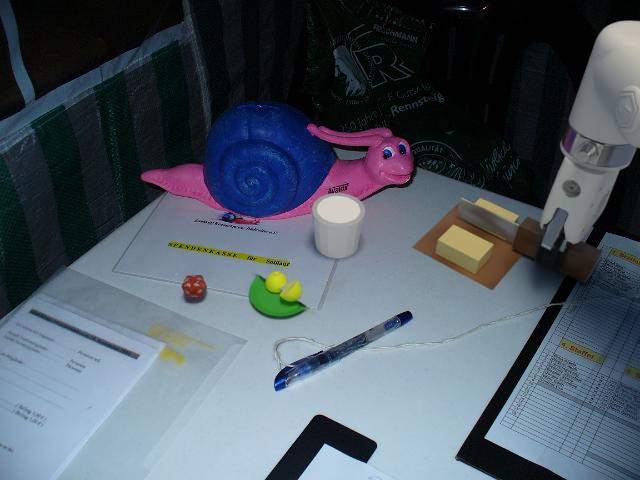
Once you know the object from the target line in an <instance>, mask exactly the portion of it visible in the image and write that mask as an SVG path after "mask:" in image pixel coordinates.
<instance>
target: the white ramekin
mask: <svg viewBox="0 0 640 480" xmlns="http://www.w3.org/2000/svg"><path fill="white" fill-rule="evenodd" d="M365 215H366V207H365V205H364V203H363V202H362V201H361V200H360V199H359V198H358V197H355V196H354V195H351V194H348V193H342V192H334V193H327V194H325V195H322V196H320V197H318V198H317V199H316V200H315V201H314V202H313V205H312V206H311V216H312V225H313V226H312V227H313V234H314V235H313V236H314V244H315V247H316V250H317V251H318V252H319V253H320V254H321V255H323V256H325V257H327V258H329V259H336V260H338V259H346V258H347V257H350V256H353V255H354V254H355V253H356V252H357V251H358V247H359V244H360V239H361V234H362V230H363V225H364V220H365Z"/></svg>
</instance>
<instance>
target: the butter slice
mask: <svg viewBox="0 0 640 480" xmlns="http://www.w3.org/2000/svg"><path fill="white" fill-rule="evenodd" d="M474 203H475V204H477V205H479V206H481V207H483V208H485V209H487V210H489V211H492V212H494V213H496V214H498V215H500V216H502V217H504V218H506V219H508V220H511V221H513V222H515V223H519V219H520V215H518V214H516V213H514V212H512V211H510V210H508V209H505V208H503V207H502V206H499V205H496V204H495V203H492V202H490V201H489V200H486V199H484V198H481V197H480V198H479V199H478V200H476V202H474ZM467 222H469V223H471V224H473V225H475V226H477V227H479V228H481V229H483V230H485V231H487V232H489V233H491V234H493V235H495V236H497V237H499V238H501V239H503V240H506V239H505V238H503V237H501V236H499V235H497V234H495V233H493V232H491V231H489V230H487V229H485V228H483V227H481V226H478V225H476V224H474V223H472V222H470V221H468V220H467Z"/></svg>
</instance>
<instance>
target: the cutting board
mask: <svg viewBox="0 0 640 480" xmlns="http://www.w3.org/2000/svg"><path fill="white" fill-rule="evenodd" d="M463 198H464V199H466V200H468V201H470V202H472V203H475V202H474V201H472V200H470V199H467V198H465V197H463ZM458 207H459V202H458V203H457V204H456V205H455V206H454V207H453V208H452V209H451V210H450V211H448V212H447V213H446V214H445V215H443V217H442V218H441V219H440V220H439V221H438V222H437V223H436V224H434V226H433V227H432V228H430V229H429V230H428V231H427V232H426V233H425V234H424V235H423V236H421V238H420V239H419V240H418V241H417V242H415V243H414V244H413V245H412V246H411V248H413V250H415V251H418V252H419V253H422V254H423V255H425V256H426V257H429V258H431V259H433V260H435V261H437V262H438V263H440V264H442V265H444V266H446V267H448V268H449V269H451V270H452V271H455V272H457V273H458V274H460V275H463V276H465V278H468V279H470V280H471V281H473V282H475V283H477V284H479V285H481V286H482V287H485V288H487V289H488V290H490V291H494V289H495V288H496V287H497V286H498V285H499V283H500V282H501V281H502V280H503V279H504V278H505V276H506V275H507V274H508V273H509V272H510V271H511V270H512V268H513V267H514V266H515V264H517V262H518V261H519V260H520V259H521V257H522V256H523V255H525V254H524V253H522V252H520V251H518V250H516V249H514V248H512V246H513V242H511V241H509V240H507V239H506V240H503V239H501V238H499V237H497V236H495V235H493V234H491V233H489V232H487V231H485V230H483V229H481V228H479V227H477V226H475V225H473V224H471V223H469V222H467V220H466V219H464V218H462V217H460V216H458V215H457V211H458ZM517 224H519V225H520V224H521V223H519V222H517ZM452 225H456V226H458V227H460V228H462V229H464V230H466V231H468V232H470V233H472V234H474V235H476V236H478V237H480V238H482V239H484V240H486V241H488V242H490V243H492V244H494V245H493V249H492V252H491V255H490V258H489V259H488V261H487V262H486V263H485V264H484V265H483V266H482V267H481V268H480V269H479V270H478V272H477V273H476V274H473V273H471V272H470V271H468V270H466V269H464V268H462V267H460V266H458V265H456V264H455V263H453V262H451V261H449V260H447V259H445V258H443V257H441V256H440V255H438V254H436V253H435V251H436V246H437V242H438V239H439V238H440V237H441V236H442V235H443V234H444V233H445V232H446V231H447V230H448V229H449V228H450V227H451V226H452Z"/></svg>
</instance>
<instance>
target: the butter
mask: <svg viewBox="0 0 640 480" xmlns="http://www.w3.org/2000/svg"><path fill="white" fill-rule="evenodd" d="M493 245H494V244H492V243H490V242H488V241H486V240H484V239H482V238H480V237H478V236H476V235H474V234H472V233H470V232H468V231H466V230H464V229H462V228H460V227H458V226H456V225H452V226H451V227H450V228H449V229H448V230H447V231H446V232H445V233H444V234H443V235H442V236H441V237H440V238H439V239H438V242H437V246H436V251H435V253H436V254H438V255H440V256H441V257H443V258H445V259H447V260H449V261H451V262H453V263H455V264H456V265H458V266H460V267H462V268H464V269H466V270H468V271H470V272H471V273H473V274H476V273H477V272H478V270H479V269H480V268H481V267H482V266H483V265H484V264H485V263H486V262H487V261H488V259H489V258H490V255H491V252H492V249H493Z"/></svg>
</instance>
